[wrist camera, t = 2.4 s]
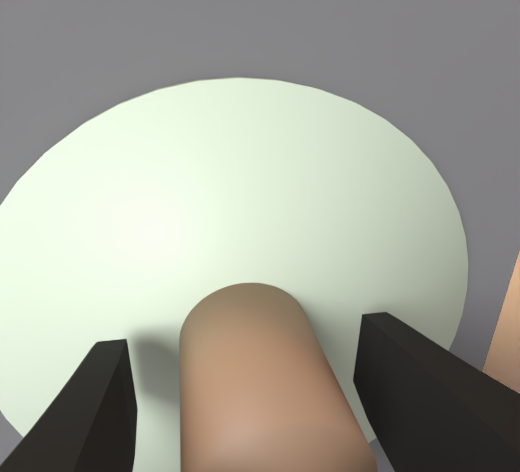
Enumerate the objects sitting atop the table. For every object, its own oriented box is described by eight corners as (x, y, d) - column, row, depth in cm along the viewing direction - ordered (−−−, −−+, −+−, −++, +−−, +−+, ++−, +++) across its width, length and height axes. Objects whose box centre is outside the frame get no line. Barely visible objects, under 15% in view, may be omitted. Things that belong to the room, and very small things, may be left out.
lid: (46, 504, 12) (-24, 750, 8) (-98, 78, 7) (-496, 120, 3) (412, 441, 14) (513, 610, 10) (496, 75, 9) (771, 96, 5)
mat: (-4, 537, 13) (-10, 554, 13) (-263, -60, 7) (-296, -69, 6) (443, 459, 16) (450, 471, 15) (583, -19, 9) (604, -23, 9)
